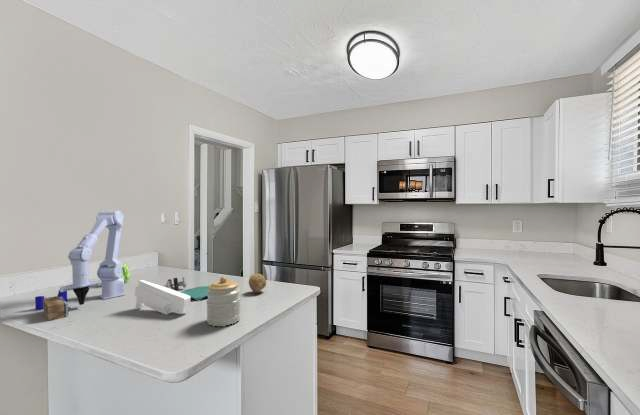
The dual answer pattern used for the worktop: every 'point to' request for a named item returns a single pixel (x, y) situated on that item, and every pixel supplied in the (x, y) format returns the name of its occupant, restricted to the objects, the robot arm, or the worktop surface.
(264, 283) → the natural sponge
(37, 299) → the cable clip
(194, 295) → the teal cloth
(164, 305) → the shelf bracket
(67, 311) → the door
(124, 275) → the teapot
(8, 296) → the worktop surface
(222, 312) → the jar
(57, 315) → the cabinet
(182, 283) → the bike brake
